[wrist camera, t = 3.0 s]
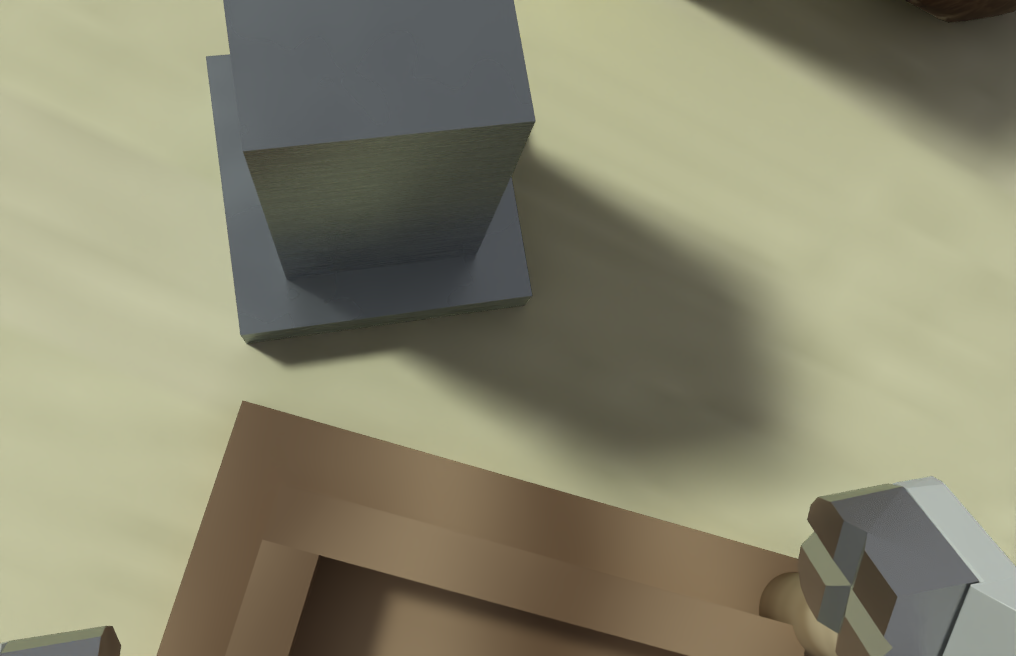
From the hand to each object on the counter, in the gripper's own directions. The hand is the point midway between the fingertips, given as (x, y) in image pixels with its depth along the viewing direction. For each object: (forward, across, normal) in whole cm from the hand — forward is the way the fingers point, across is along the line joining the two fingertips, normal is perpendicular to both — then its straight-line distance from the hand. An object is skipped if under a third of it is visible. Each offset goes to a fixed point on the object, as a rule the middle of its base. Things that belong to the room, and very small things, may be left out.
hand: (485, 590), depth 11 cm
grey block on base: (+15, 0, +2) cm, 15 cm away
